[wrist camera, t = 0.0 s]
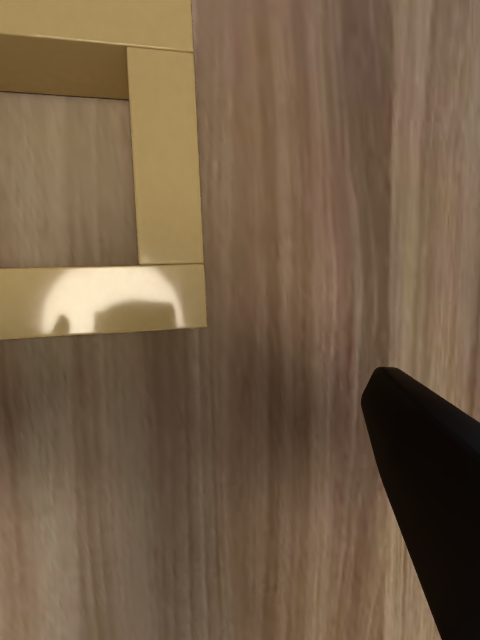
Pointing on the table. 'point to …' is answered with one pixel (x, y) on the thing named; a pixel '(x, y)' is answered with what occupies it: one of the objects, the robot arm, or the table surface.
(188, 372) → the table surface
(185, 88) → the stand
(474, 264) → the table surface
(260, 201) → the table surface
